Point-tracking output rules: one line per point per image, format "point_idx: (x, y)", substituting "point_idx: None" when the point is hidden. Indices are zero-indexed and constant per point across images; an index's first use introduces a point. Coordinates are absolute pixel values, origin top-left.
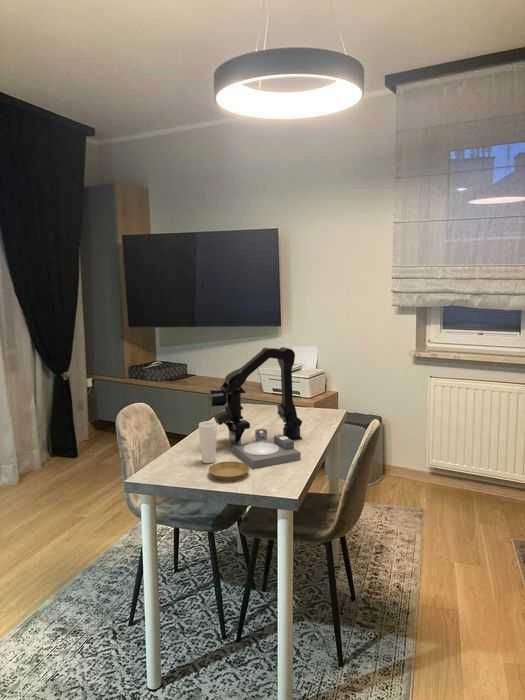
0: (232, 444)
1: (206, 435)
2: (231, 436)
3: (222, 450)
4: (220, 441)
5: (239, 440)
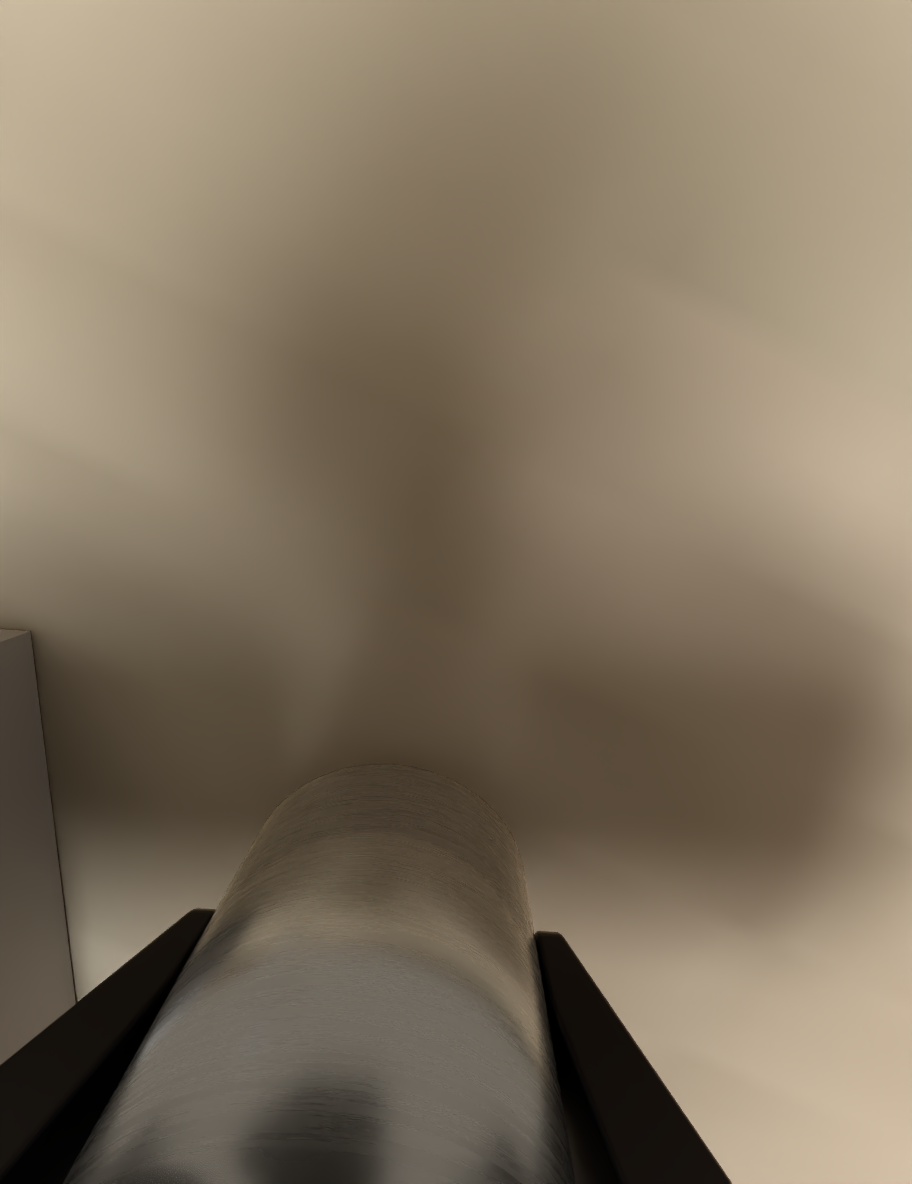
0: (291, 797)
1: None
2: (216, 985)
3: (259, 498)
4: (836, 720)
5: None
